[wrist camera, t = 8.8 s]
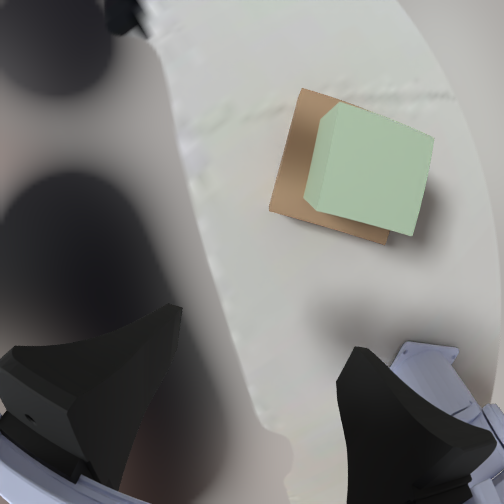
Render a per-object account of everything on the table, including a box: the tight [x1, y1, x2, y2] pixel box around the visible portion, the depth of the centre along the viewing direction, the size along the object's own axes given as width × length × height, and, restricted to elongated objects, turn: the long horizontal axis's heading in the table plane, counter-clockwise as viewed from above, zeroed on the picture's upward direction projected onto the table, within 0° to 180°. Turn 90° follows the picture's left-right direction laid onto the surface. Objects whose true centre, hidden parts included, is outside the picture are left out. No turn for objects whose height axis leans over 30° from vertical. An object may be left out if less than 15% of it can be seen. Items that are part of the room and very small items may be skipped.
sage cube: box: [303, 102, 434, 236], centre depth 13 cm, size 5×5×5 cm
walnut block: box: [269, 88, 390, 245], centre depth 17 cm, size 8×8×3 cm
